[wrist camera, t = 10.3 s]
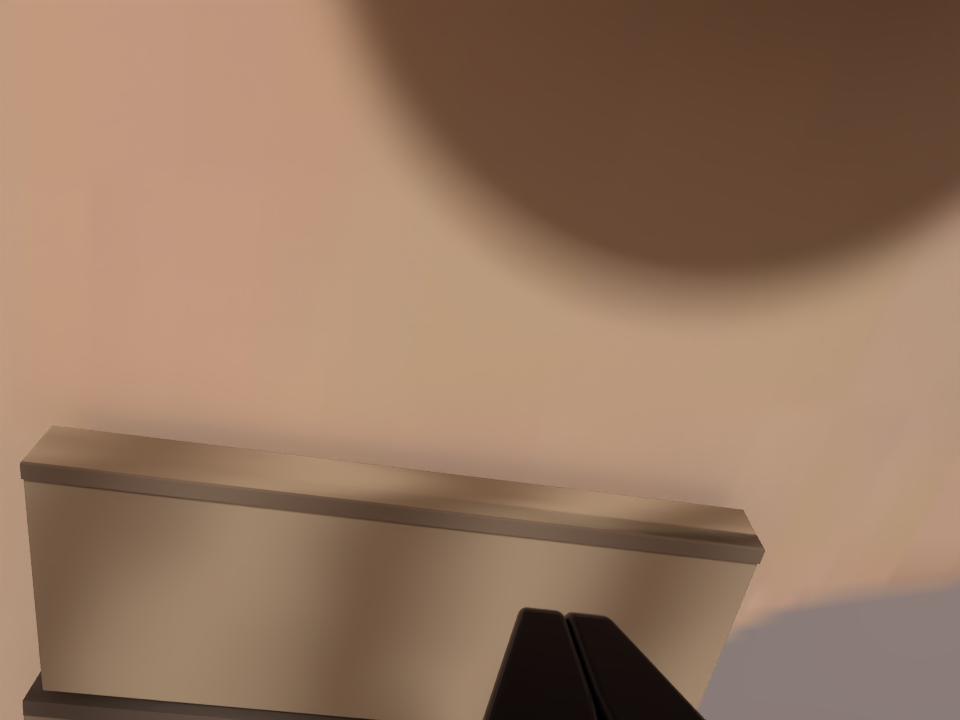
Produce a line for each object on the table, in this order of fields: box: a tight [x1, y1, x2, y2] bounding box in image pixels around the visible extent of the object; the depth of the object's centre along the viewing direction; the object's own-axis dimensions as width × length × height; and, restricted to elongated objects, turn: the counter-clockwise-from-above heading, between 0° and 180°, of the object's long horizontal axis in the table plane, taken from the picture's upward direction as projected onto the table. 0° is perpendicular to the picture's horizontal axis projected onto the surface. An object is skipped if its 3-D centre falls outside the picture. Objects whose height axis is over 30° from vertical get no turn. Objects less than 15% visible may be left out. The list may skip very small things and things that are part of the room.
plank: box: [20, 426, 765, 720], centre depth 21 cm, size 17×7×2 cm, turn 80°
